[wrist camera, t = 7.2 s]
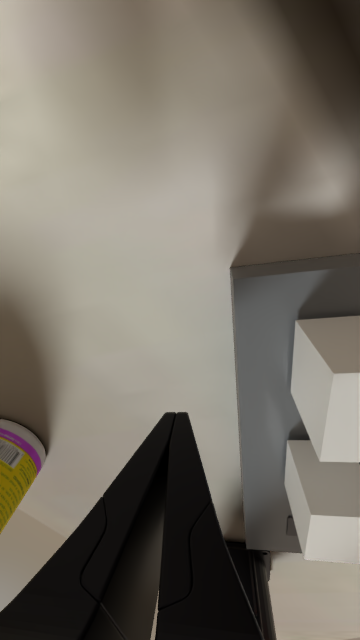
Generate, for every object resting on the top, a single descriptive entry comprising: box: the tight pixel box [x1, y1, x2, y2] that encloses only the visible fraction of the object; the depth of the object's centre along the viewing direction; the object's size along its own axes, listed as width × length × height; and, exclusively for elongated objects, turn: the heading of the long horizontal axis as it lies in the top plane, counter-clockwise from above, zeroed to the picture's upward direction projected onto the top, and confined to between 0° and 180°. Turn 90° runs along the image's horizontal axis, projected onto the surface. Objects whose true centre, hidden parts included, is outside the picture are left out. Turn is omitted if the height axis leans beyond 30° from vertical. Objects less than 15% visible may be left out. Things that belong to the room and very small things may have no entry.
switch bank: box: [230, 253, 360, 553], centre depth 15 cm, size 23×14×2 cm, turn 8°
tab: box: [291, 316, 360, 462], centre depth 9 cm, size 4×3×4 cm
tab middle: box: [284, 440, 360, 564], centre depth 12 cm, size 4×3×4 cm
